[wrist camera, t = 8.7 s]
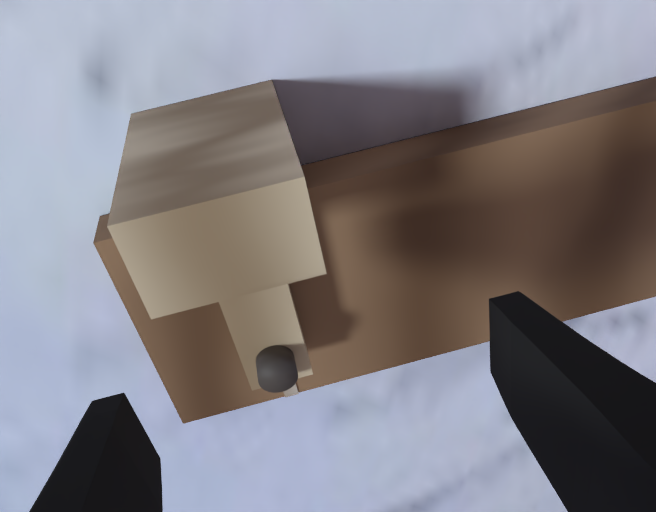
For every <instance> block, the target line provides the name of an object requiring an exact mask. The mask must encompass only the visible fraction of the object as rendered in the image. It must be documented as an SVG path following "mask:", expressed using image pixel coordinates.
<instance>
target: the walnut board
mask: <svg viewBox="0 0 656 512" xmlns="http://www.w3.org/2000/svg"><path fill="white" fill-rule="evenodd" d="M301 168H302V171H303V174H304V177H305V181H306V186H307V190H308V194H309V199H310V203H311V207H312V212H313V216H314V221H315V225H316V229H317V234H318V238H319V242H320V247H321V251H322V256H323V260H324V264H325V269H326V273H327V274H324V275H320V276H316V277H313V278H309V279H305V280H301V281H297V282H293V283H289V285H290V289H291V293H292V296H293V300H294V303H295V307H296V311H297V314H298V318H299V321H300V325H301V328H302V332H303V336H304V339H305V343H306V346H307V350H308V355H309V359H310V363H311V368H312V372H313V375H309V376H305V377H301V378H298V380H297V382H296V383H295V385H294V386H293V387H291V388H290V389H288V390H286V391H283V392H278V393H272V392H268V391H265V390H263V389H262V388H260V389H256V390H253V391H252V389H251V386H250V384H249V381H248V378H247V376H246V373H245V370H244V368H243V365H242V363H241V360H240V357H239V355H238V352H237V349H236V347H235V344H234V341H233V339H232V336H231V333H230V331H229V328H228V325H227V323H226V320H225V317H224V315H223V312H222V309H221V307H220V304H219V302H216V303H212V304H209V305H205V306H201V307H197V308H193V309H189V310H185V311H182V312H178V313H174V314H170V315H166V316H162V317H158V318H155V319H151V318H150V316H149V314H148V312H147V310H146V308H145V306H144V303H143V301H142V299H141V297H140V295H139V293H138V291H137V289H136V287H135V284H134V282H133V280H132V278H131V276H130V274H129V272H128V270H127V268H126V265H125V263H124V261H123V259H122V257H121V255H120V253H119V251H118V249H117V246H116V244H115V242H114V240H113V238H112V236H111V234H110V232H109V230H108V228H107V224H108V219H109V215H110V214H107V215H103V216H100V218H99V222H98V226H97V230H96V234H95V238H94V242H93V243H94V245H95V247H96V249H97V251H98V253H99V255H100V257H101V259H102V261H103V263H104V265H105V267H106V269H107V271H108V273H109V275H110V277H111V279H112V281H113V283H114V285H115V287H116V289H117V291H118V293H119V295H120V297H121V299H122V301H123V303H124V305H125V307H126V309H127V311H128V314H129V316H130V318H131V320H132V322H133V324H134V326H135V328H136V330H137V332H138V334H139V336H140V338H141V340H142V342H143V344H144V346H145V348H146V350H147V352H148V354H149V356H150V358H151V360H152V362H153V364H154V366H155V368H156V370H157V372H158V374H159V376H160V378H161V380H162V382H163V384H164V386H165V388H166V390H167V392H168V394H169V396H170V398H171V400H172V402H173V404H174V406H175V408H176V410H177V412H178V414H179V416H180V418H181V420H182V422H183V423H187V422H191V421H194V420H198V419H202V418H206V417H209V416H213V415H217V414H220V413H224V412H228V411H232V410H235V409H239V408H243V407H246V406H250V405H254V404H258V403H261V402H265V401H269V400H272V399H276V398H280V397H284V396H285V397H288V396H292V395H296V394H299V393H298V392H302V391H306V390H310V389H313V388H317V387H321V386H324V385H328V384H332V383H336V382H339V381H343V380H347V379H351V378H354V377H358V376H362V375H365V374H369V373H373V372H377V371H380V370H384V369H388V368H391V367H395V366H399V365H403V364H406V363H410V362H414V361H417V360H421V359H425V358H429V357H432V356H436V355H440V354H443V353H447V352H451V351H455V350H458V349H462V348H466V347H469V346H473V345H477V344H481V343H484V342H488V341H490V328H489V299H490V298H494V297H498V296H501V295H505V294H509V293H513V292H517V291H519V292H521V293H523V294H524V295H525V296H527V297H528V298H530V299H531V300H532V301H534V302H535V303H537V304H538V305H539V306H541V307H542V308H543V309H545V310H546V311H548V312H549V313H550V314H552V315H553V316H555V317H556V318H557V319H559V320H560V321H561V322H562V321H566V320H570V319H573V318H577V317H581V316H585V315H588V314H592V313H596V312H599V311H603V310H607V309H611V308H614V307H618V306H622V305H625V304H629V303H633V302H637V301H640V300H644V299H648V298H651V297H655V296H656V77H653V78H649V79H645V80H641V81H637V82H633V83H629V84H625V85H621V86H617V87H613V88H609V89H605V90H601V91H597V92H593V93H590V94H586V95H582V96H578V97H574V98H570V99H566V100H562V101H558V102H554V103H550V104H546V105H542V106H538V107H534V108H530V109H526V110H522V111H518V112H514V113H510V114H506V115H502V116H498V117H494V118H490V119H486V120H482V121H478V122H474V123H470V124H466V125H462V126H458V127H454V128H450V129H446V130H442V131H438V132H434V133H430V134H426V135H422V136H418V137H414V138H410V139H406V140H402V141H398V142H394V143H390V144H386V145H382V146H378V147H374V148H370V149H366V150H362V151H358V152H354V153H350V154H346V155H342V156H338V157H334V158H330V159H326V160H322V161H318V162H314V163H310V164H306V165H302V166H301Z"/></svg>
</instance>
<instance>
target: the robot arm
mask: <svg viewBox="0 0 656 512" xmlns="http://www.w3.org/2000/svg"><path fill="white" fill-rule="evenodd" d="M489 328H490V369H491V374H492V376H493V378H494V381H495V383H496V385H497V387H498V390H499V392H500V394H501V396H502V399H503V401H504V403H505V405H506V407H507V409H508V412H509V414H510V416H511V418H512V420H513V421H514V423H515V425H516V426H517V428H518V430H519V431H520V433H521V435H522V436H523V438H524V440H525V441H526V443H527V445H528V446H529V448H530V450H531V451H532V453H533V455H534V456H535V458H536V460H537V461H538V463H539V465H540V466H541V468H542V470H543V471H544V473H545V475H546V476H547V478H548V479H549V481H550V483H551V484H552V486H553V488H554V489H555V491H556V493H557V494H558V496H559V498H560V499H561V501H562V503H563V504H564V506H565V508H566V509H567V511H568V512H656V383H655V382H653V381H651V380H650V379H648V378H646V377H645V376H643V375H641V374H640V373H638V372H636V371H635V370H633V369H632V368H630V367H628V366H627V365H625V364H624V363H622V362H620V361H619V360H617V359H616V358H614V357H613V356H611V355H610V354H608V353H607V352H605V351H604V350H602V349H601V348H599V347H598V346H596V345H595V344H593V343H592V342H590V341H589V340H587V339H586V338H584V337H583V336H581V335H580V334H578V333H577V332H576V331H574V330H573V329H571V328H570V327H569V326H567V325H566V324H564V323H563V322H561V321H560V320H559V319H557V318H556V317H555V316H553V315H552V314H550V313H549V312H548V311H546V310H545V309H543V308H542V307H541V306H539V305H538V304H537V303H535V302H534V301H532V300H531V299H530V298H528V297H527V296H525V295H524V294H523V293H521V292H519V291H517V292H513V293H509V294H505V295H501V296H498V297H494V298H490V299H489ZM29 512H162V481H161V463H160V457H159V455H158V454H157V452H156V450H155V448H154V446H153V444H152V443H151V441H150V439H149V437H148V435H147V434H146V432H145V430H144V428H143V426H142V424H141V423H140V421H139V419H138V417H137V415H136V414H135V412H134V410H133V408H132V406H131V404H130V403H129V401H128V399H127V397H126V395H125V394H124V393H121V394H117V395H113V396H110V397H106V398H102V399H98V400H94V401H92V402H91V404H90V406H89V407H88V409H87V411H86V412H85V414H84V416H83V418H82V420H81V421H80V423H79V425H78V427H77V429H76V431H75V432H74V434H73V436H72V438H71V440H70V441H69V443H68V445H67V447H66V449H65V451H64V452H63V454H62V456H61V458H60V460H59V461H58V463H57V465H56V467H55V469H54V470H53V472H52V474H51V476H50V477H49V479H48V481H47V482H46V484H45V486H44V488H43V489H42V491H41V493H40V494H39V496H38V498H37V500H36V501H35V503H34V505H33V506H32V508H31V510H30V511H29Z"/></svg>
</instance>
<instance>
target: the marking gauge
mask: <svg viewBox="0 0 656 512" xmlns="http://www.w3.org/2000/svg"><path fill="white" fill-rule="evenodd" d="M107 228H108V230H109V232H110V234H111V236H112V238H113V240H114V242H115V244H116V246H117V249H118V251H119V253H120V255H121V257H122V259H123V261H124V263H125V265H126V268H127V270H128V272H129V274H130V276H131V278H132V280H133V282H134V284H135V287H136V289H137V291H138V293H139V295H140V297H141V299H142V301H143V303H144V306H145V308H146V310H147V312H148V314H149V316H150V318H151V319H155V318H158V317H162V316H166V315H170V314H174V313H178V312H182V311H185V310H189V309H193V308H197V307H201V306H205V305H209V304H212V303H216V302H219V304H220V307H221V309H222V312H223V315H224V317H225V320H226V323H227V325H228V328H229V331H230V333H231V336H232V339H233V341H234V344H235V347H236V349H237V352H238V355H239V357H240V360H241V363H242V365H243V368H244V370H245V373H246V376H247V378H248V381H249V384H250V386H251V389H252V391H253V390H256V389H260V388H262V389H263V390H265V391H268V392H272V393H278V392H283V391H286V390H288V389H290V388H291V387H293V386H294V385H295V383H296V382H297V380H298V378H301V377H305V376H309V375H313V372H312V368H311V363H310V359H309V355H308V350H307V346H306V343H305V339H304V336H303V332H302V328H301V325H300V321H299V318H298V314H297V311H296V307H295V303H294V300H293V296H292V293H291V289H290V285H289V283H293V282H297V281H301V280H305V279H309V278H313V277H316V276H320V275H324V274H327V273H326V269H325V264H324V260H323V256H322V251H321V247H320V242H319V238H318V234H317V229H316V225H315V221H314V216H313V212H312V207H311V203H310V199H309V194H308V190H307V186H306V181H305V177H304V174H303V171H302V168H301V165H300V162H299V159H298V156H297V153H296V150H295V147H294V144H293V141H292V138H291V135H290V132H289V129H288V126H287V123H286V120H285V118H284V115H283V112H282V109H281V106H280V103H279V100H278V97H277V94H276V91H275V88H274V85H273V82H272V80H269V81H265V82H260V83H256V84H252V85H248V86H244V87H240V88H236V89H232V90H227V91H223V92H219V93H215V94H211V95H207V96H203V97H199V98H194V99H190V100H186V101H182V102H178V103H174V104H170V105H166V106H161V107H157V108H153V109H149V110H145V111H141V112H137V113H133V114H131V117H130V121H129V126H128V131H127V135H126V140H125V145H124V149H123V154H122V159H121V163H120V168H119V173H118V177H117V182H116V187H115V191H114V196H113V201H112V205H111V210H110V215H109V219H108V224H107Z"/></svg>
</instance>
